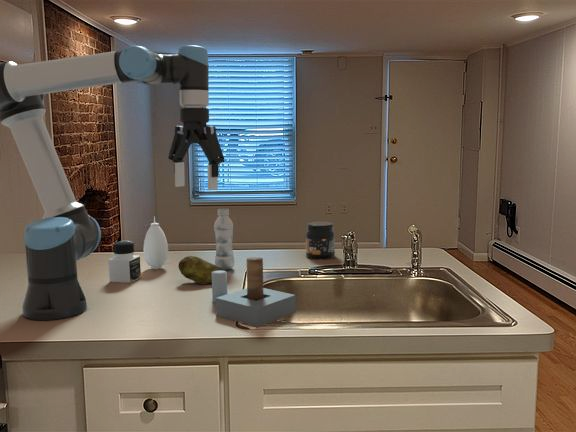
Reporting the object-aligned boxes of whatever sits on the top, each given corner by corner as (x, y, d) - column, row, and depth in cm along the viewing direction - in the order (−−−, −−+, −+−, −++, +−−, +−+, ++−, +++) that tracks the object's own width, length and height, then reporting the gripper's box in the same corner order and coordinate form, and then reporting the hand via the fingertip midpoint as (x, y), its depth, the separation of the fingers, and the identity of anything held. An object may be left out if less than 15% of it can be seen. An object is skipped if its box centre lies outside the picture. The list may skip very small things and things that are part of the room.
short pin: (219, 304, 153) (218, 274, 152) (209, 301, 156) (208, 272, 155) (230, 301, 156) (229, 271, 155) (220, 298, 159) (219, 269, 158)
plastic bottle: (218, 272, 187) (216, 211, 185) (212, 268, 194) (210, 208, 191) (237, 270, 190) (236, 210, 187) (231, 266, 196) (229, 207, 193)
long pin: (256, 317, 142) (255, 261, 140) (244, 314, 145) (243, 259, 143) (267, 313, 145) (266, 258, 143) (255, 310, 148) (254, 256, 146)
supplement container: (299, 256, 210) (299, 223, 209) (320, 252, 217) (319, 220, 216) (320, 261, 203) (320, 227, 201) (341, 256, 210) (341, 223, 208)
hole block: (257, 327, 135) (257, 308, 135) (216, 315, 144) (215, 297, 144) (295, 312, 146) (295, 294, 145) (254, 302, 155) (254, 285, 154)
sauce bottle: (160, 272, 189) (158, 217, 186) (140, 270, 192) (137, 216, 189) (173, 267, 196) (170, 214, 194) (152, 265, 199) (150, 213, 196)
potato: (215, 287, 170) (214, 260, 169) (175, 284, 174) (174, 258, 173) (226, 280, 178) (225, 254, 177) (188, 277, 182) (187, 252, 181)
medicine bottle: (130, 283, 176) (128, 244, 174) (109, 282, 177) (106, 243, 176) (141, 277, 183) (139, 239, 181) (120, 276, 184) (118, 239, 182)
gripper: (237, 106, 148) (238, 190, 151) (176, 108, 164) (178, 184, 167) (215, 105, 142) (216, 192, 145) (154, 107, 158) (156, 185, 161)
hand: (195, 188), depth 156 cm, fingers open, 13 cm apart
